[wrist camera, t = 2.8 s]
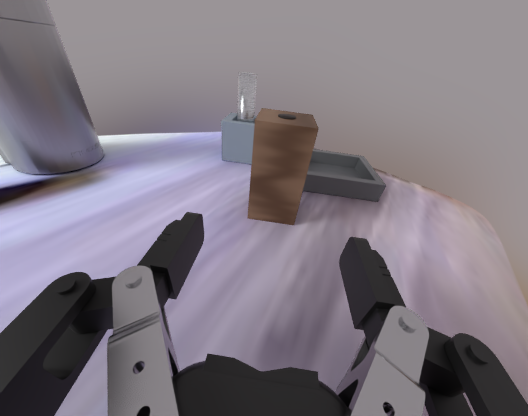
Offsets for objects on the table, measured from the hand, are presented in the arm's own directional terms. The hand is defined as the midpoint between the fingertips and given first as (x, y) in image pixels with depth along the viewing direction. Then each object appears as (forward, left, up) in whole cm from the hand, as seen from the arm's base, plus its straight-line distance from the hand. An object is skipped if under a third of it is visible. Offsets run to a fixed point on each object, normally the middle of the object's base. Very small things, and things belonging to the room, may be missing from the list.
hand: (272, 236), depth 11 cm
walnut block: (0, +11, -6) cm, 13 cm away
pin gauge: (-6, +25, -6) cm, 26 cm away
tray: (+8, +21, -6) cm, 23 cm away
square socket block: (-6, +25, -6) cm, 26 cm away
